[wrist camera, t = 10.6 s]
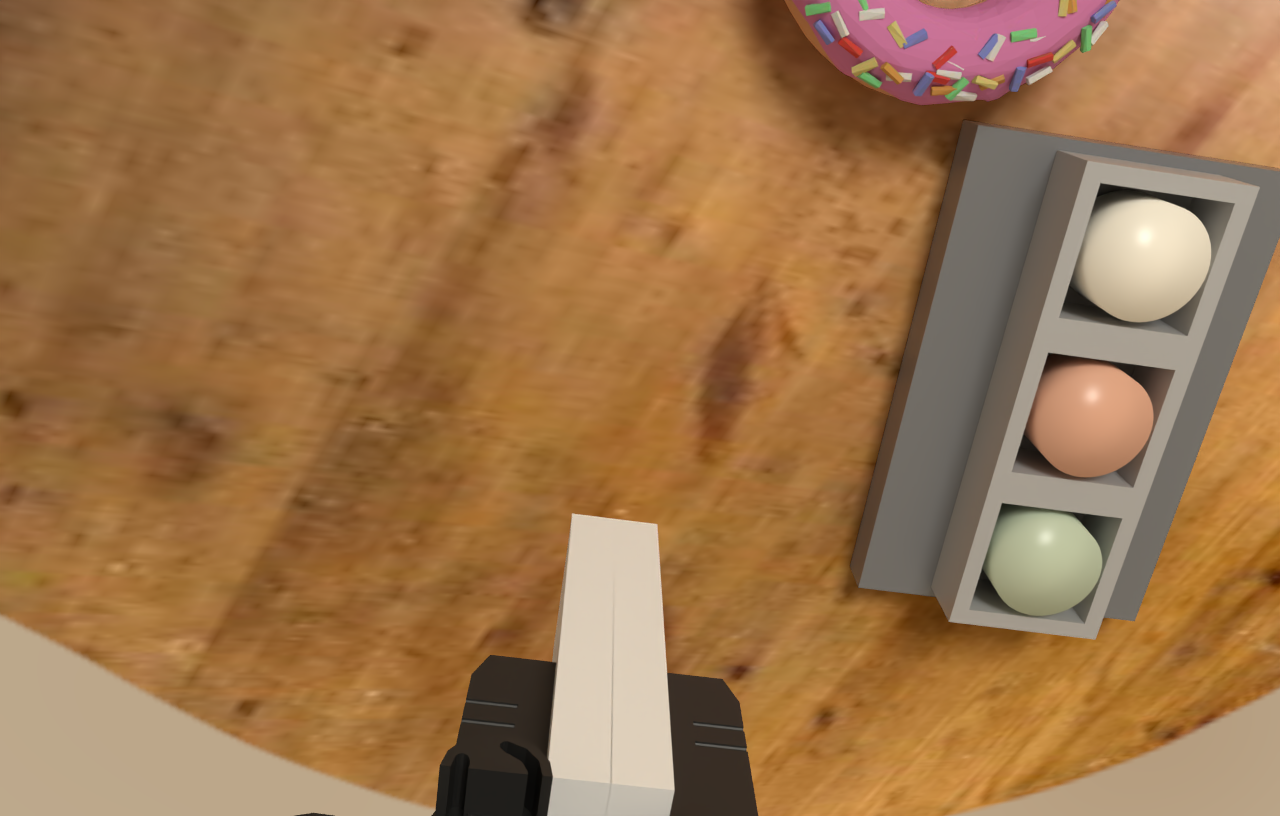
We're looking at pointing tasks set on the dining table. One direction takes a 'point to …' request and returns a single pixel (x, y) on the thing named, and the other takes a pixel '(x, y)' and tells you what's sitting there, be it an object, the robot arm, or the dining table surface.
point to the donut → (949, 43)
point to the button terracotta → (1088, 416)
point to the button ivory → (1141, 256)
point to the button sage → (1041, 559)
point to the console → (1015, 357)
